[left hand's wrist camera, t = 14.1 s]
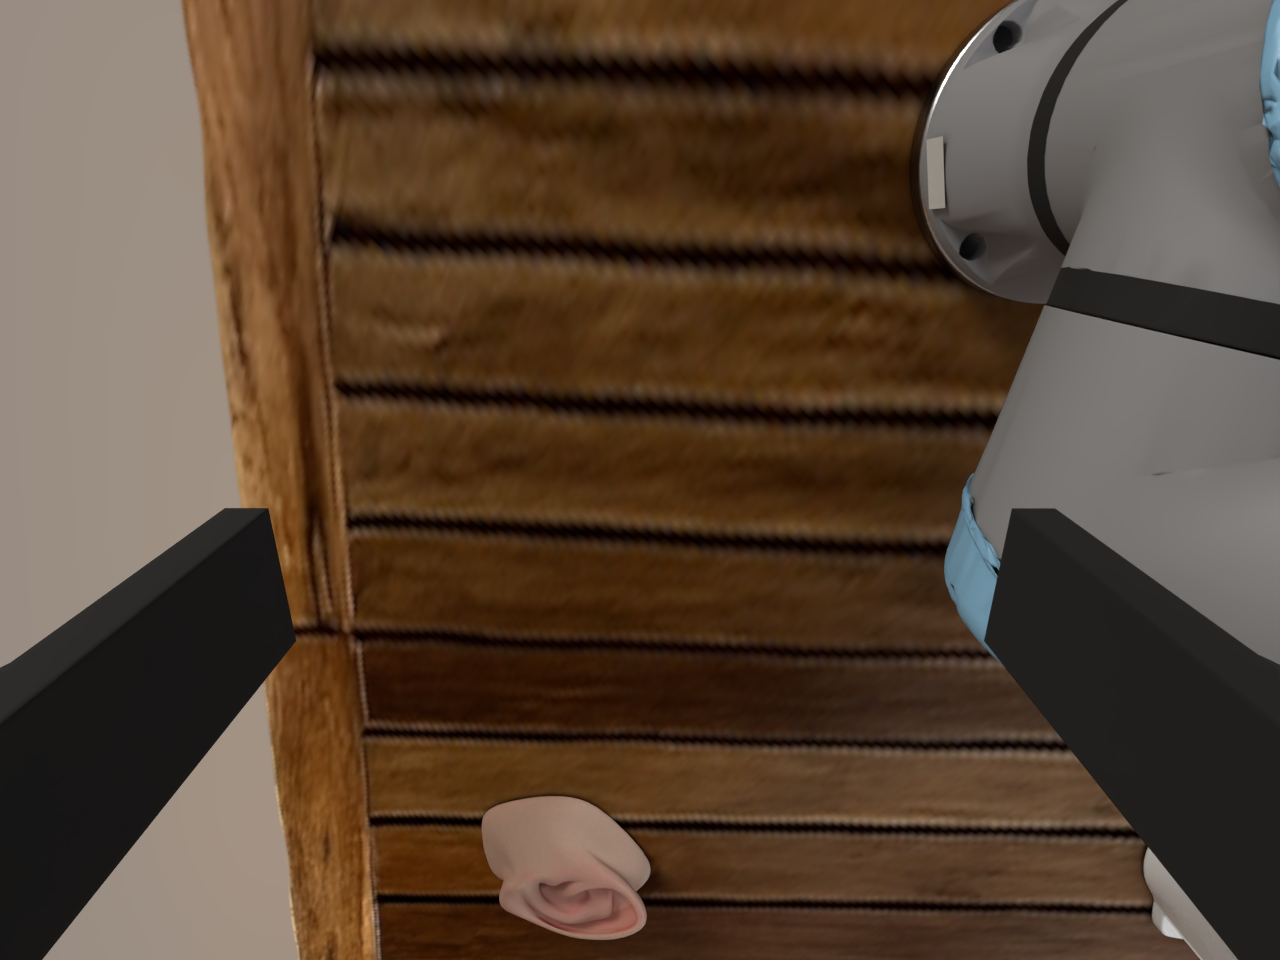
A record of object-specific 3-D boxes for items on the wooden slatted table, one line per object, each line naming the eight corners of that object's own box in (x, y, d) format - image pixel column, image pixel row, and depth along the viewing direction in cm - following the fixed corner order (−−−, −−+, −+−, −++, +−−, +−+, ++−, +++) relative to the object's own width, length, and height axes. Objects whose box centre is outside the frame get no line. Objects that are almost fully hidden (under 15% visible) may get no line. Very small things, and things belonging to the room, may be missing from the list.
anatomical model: (441, 866, 50) (581, 811, 48) (454, 821, 54) (586, 768, 52) (534, 978, 54) (667, 931, 52) (541, 928, 58) (665, 883, 56)
